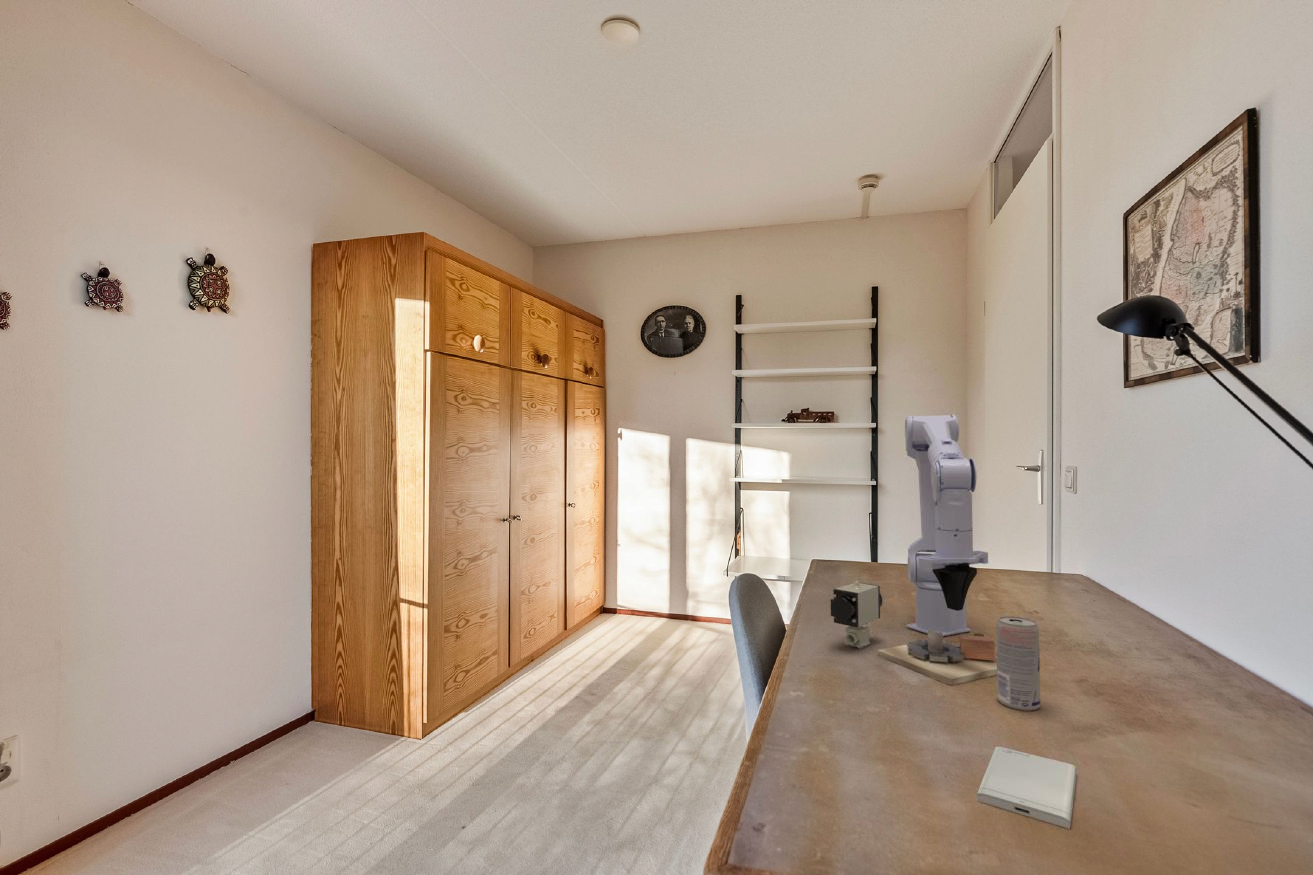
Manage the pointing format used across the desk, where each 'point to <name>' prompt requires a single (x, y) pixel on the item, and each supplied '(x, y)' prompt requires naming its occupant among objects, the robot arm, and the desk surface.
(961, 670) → the board
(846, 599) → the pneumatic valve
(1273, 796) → the desk surface
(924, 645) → the segmented ring with bar
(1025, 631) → the energy drink
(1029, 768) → the hard drive
